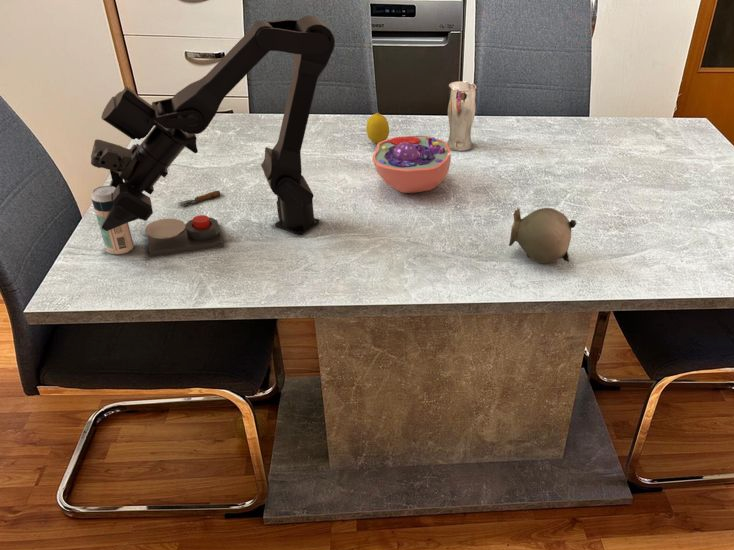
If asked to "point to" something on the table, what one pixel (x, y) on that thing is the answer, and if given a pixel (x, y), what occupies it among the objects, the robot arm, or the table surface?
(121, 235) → the beer can
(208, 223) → the button
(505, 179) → the table surface
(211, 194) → the can opener
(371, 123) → the lemon
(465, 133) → the cream vase
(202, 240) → the warmer
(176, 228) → the warming plate
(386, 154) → the cell model
